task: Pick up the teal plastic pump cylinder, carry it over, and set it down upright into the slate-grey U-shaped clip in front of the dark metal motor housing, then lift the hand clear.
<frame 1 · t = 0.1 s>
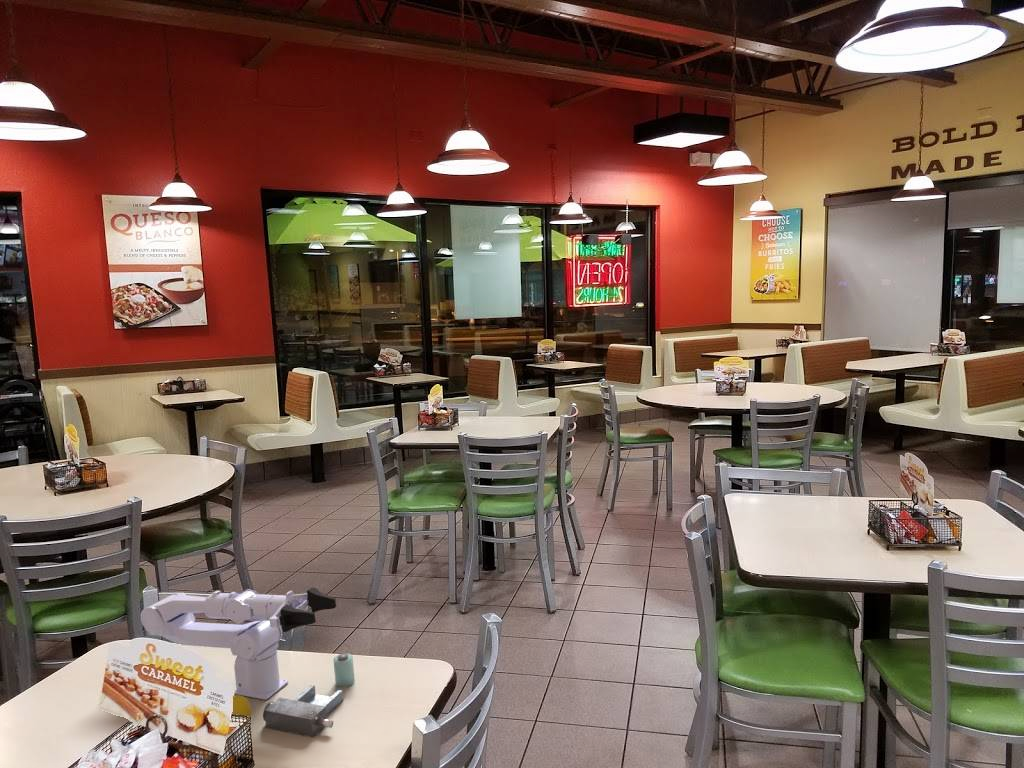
hand: (324, 610, 159), 22 cm above the table, tool horizontal, fingers open, 7 cm apart
lemon: (239, 731, 153), on the table
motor: (316, 707, 160), on the table
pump: (345, 682, 170), on the table
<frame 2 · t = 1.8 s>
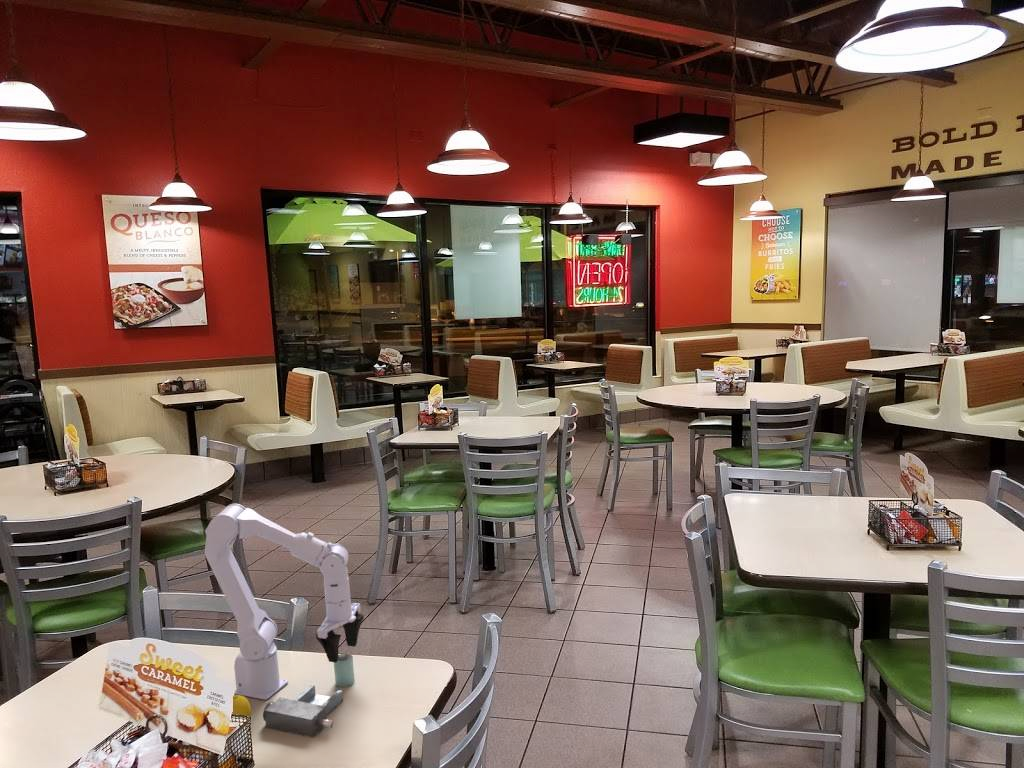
hand: (342, 653, 169), 7 cm above the table, tool pointing down, fingers open, 7 cm apart
nothing on the table moved.
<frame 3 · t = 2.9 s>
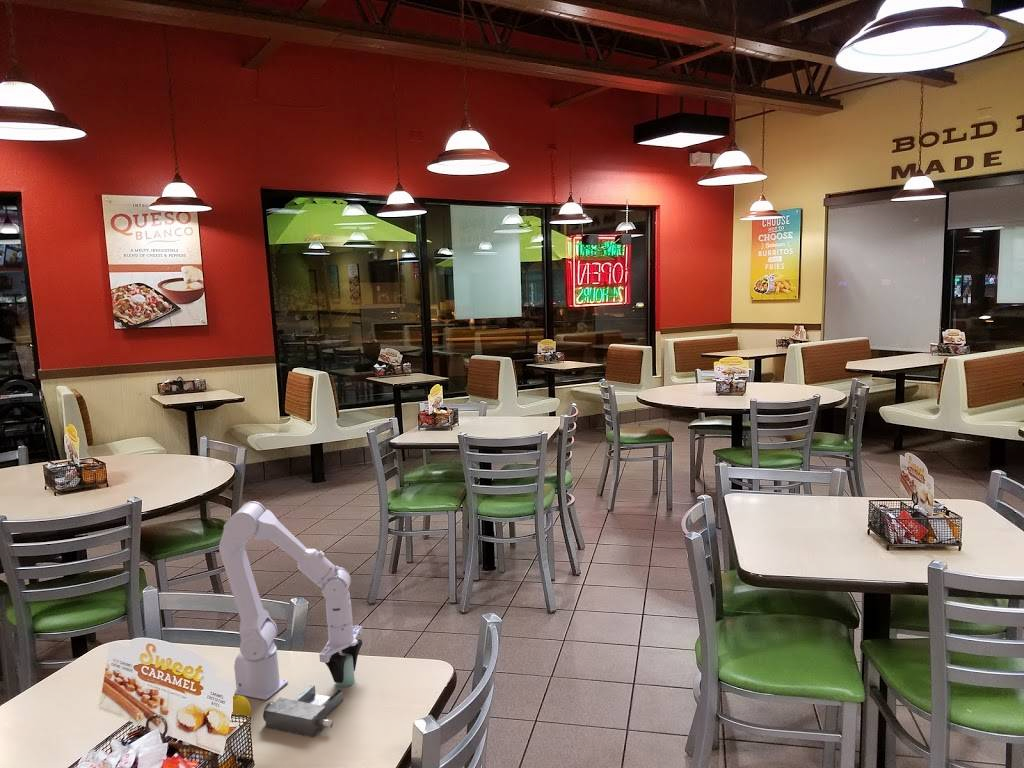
hand: (344, 676, 170), 1 cm above the table, tool pointing down, fingers closed on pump, 4 cm apart
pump: (345, 682, 170), on the table, touching gripper
everything else where it was.
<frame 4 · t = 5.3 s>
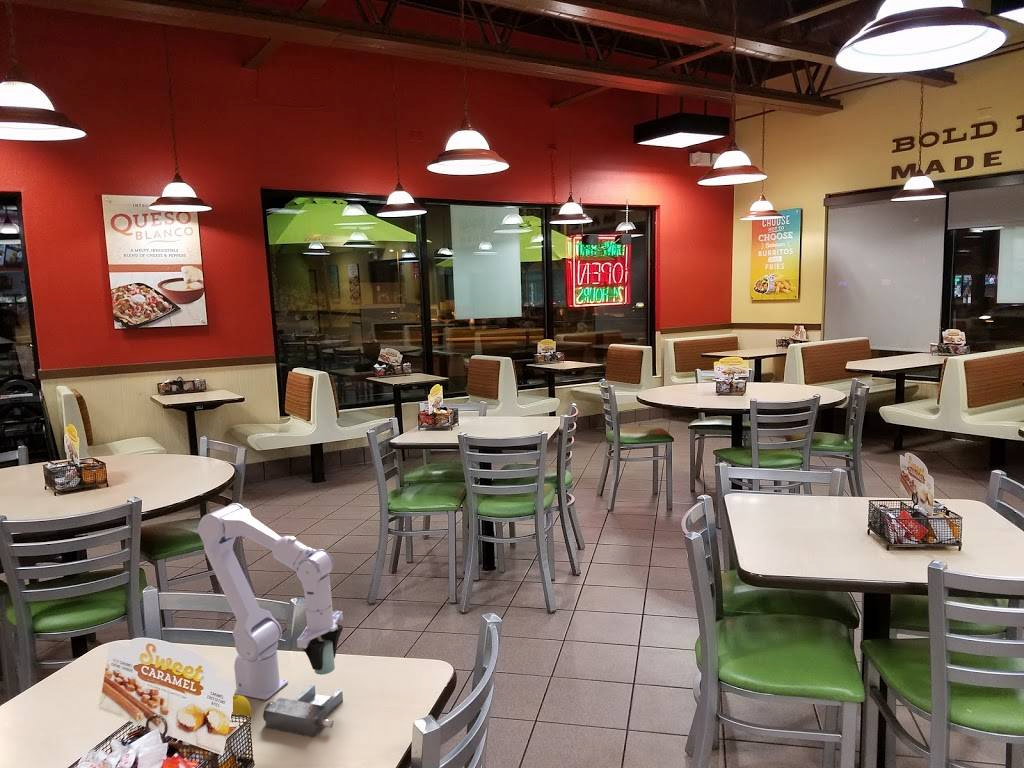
hand: (323, 663, 163), 8 cm above the table, tool pointing down, fingers closed on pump, 4 cm apart
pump: (324, 669, 163), point 7 cm above the table, touching gripper
everything else where it was.
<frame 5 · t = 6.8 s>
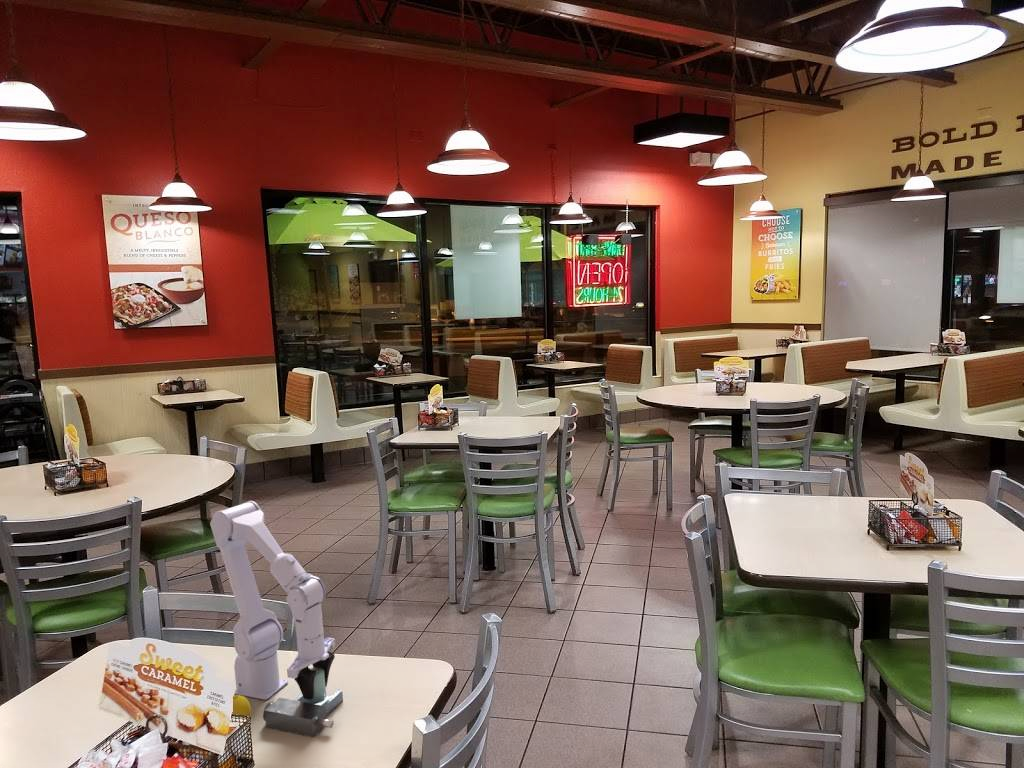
hand: (315, 692, 160), 4 cm above the table, tool pointing down, fingers closed on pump, 4 cm apart
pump: (316, 698, 160), point 2 cm above the table, touching gripper
everything else where it was.
when the fingers open (3 cm above the table, at t = 7.8 s): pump drops 1 cm, resting on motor.
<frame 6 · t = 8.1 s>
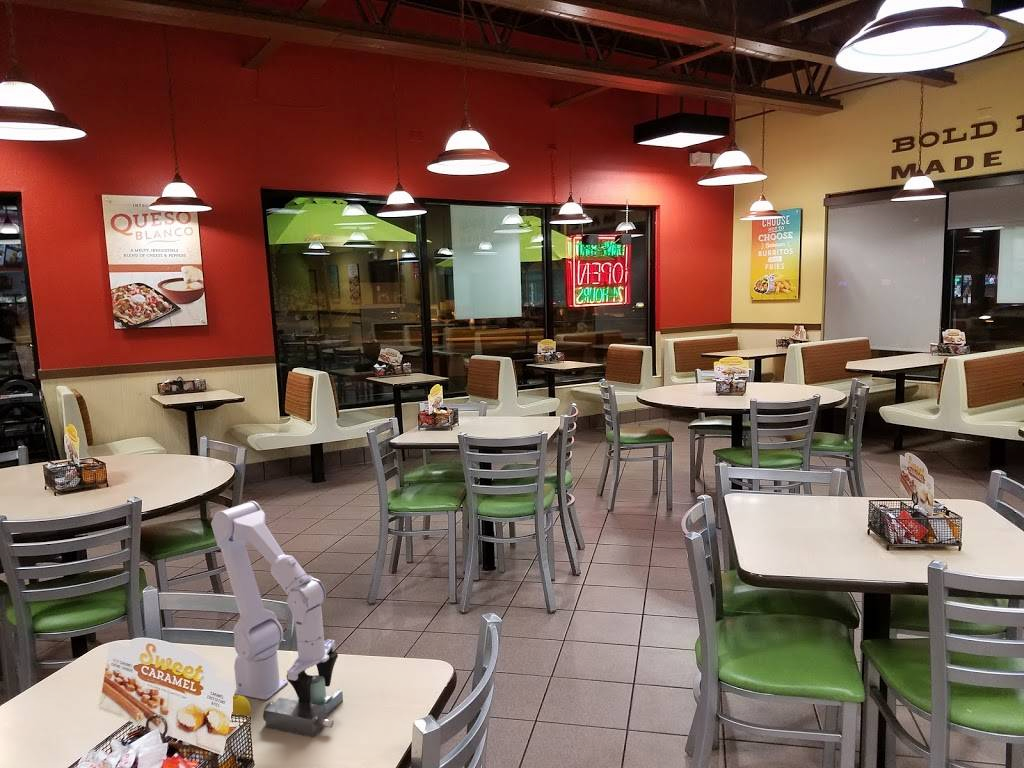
hand: (315, 694, 160), 3 cm above the table, tool pointing down, fingers open, 7 cm apart
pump: (316, 706, 160), resting on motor
everything else where it was.
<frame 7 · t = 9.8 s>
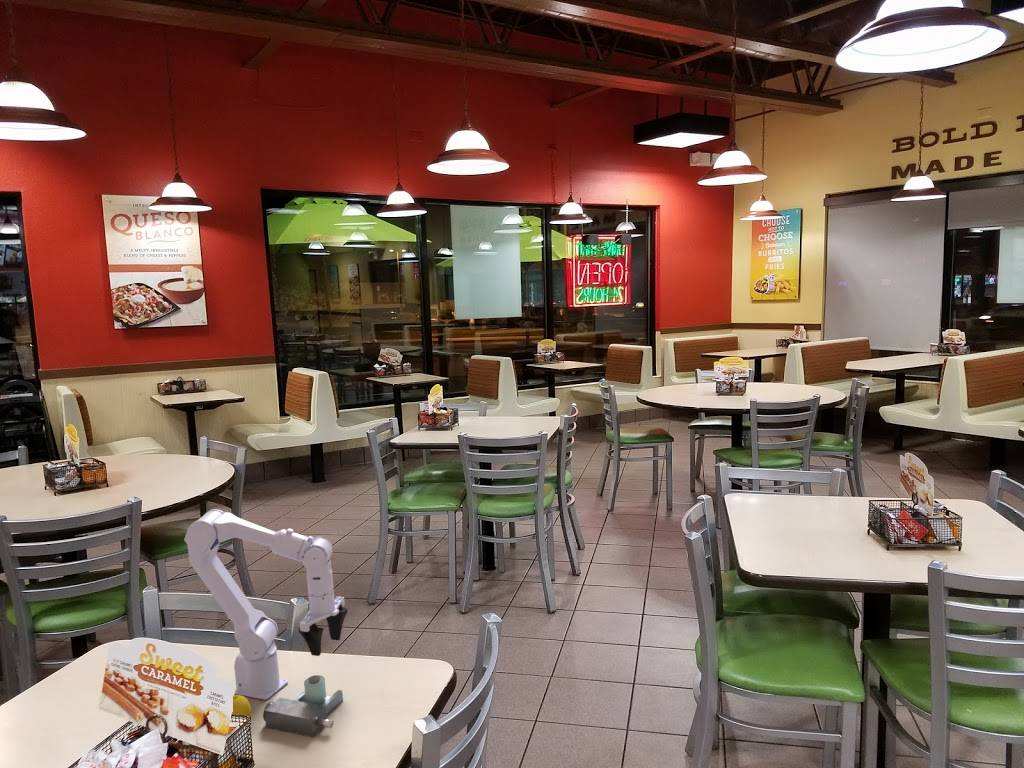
hand: (325, 647, 168), 9 cm above the table, tool pointing down, fingers open, 7 cm apart
nothing on the table moved.
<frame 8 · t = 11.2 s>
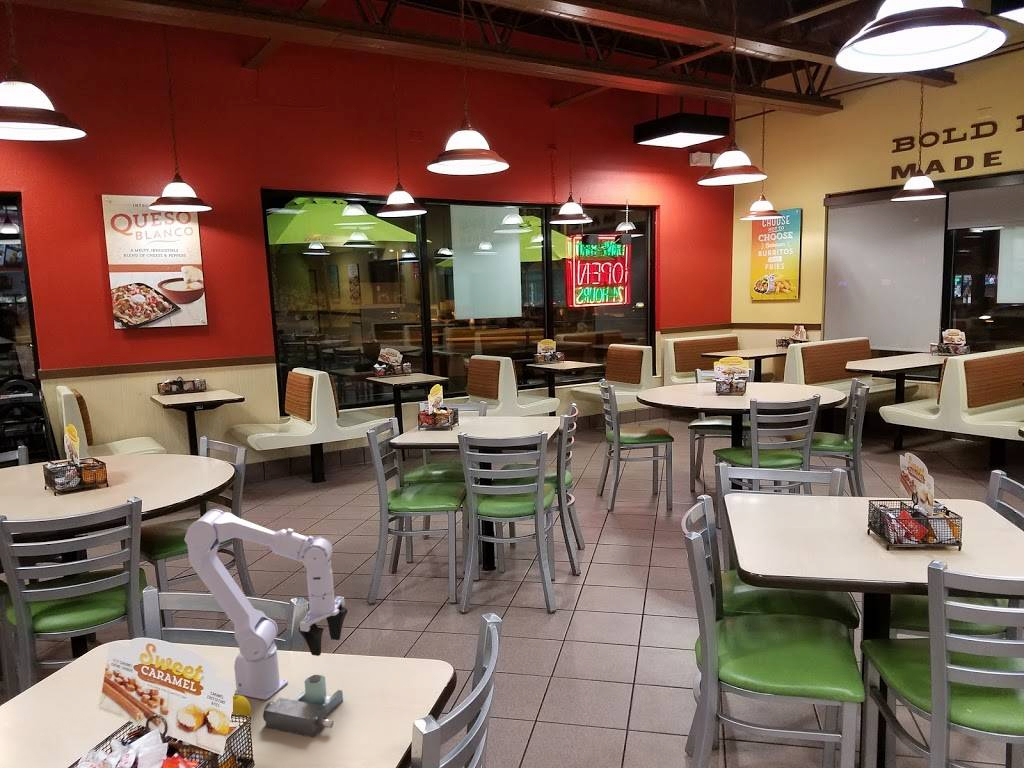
hand: (326, 646, 168), 9 cm above the table, tool pointing down, fingers open, 7 cm apart
nothing on the table moved.
at the end: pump 0.0 cm off-centre on the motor, point 0.5 cm above the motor's base; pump tilted 2°; the gripper is holding nothing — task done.
